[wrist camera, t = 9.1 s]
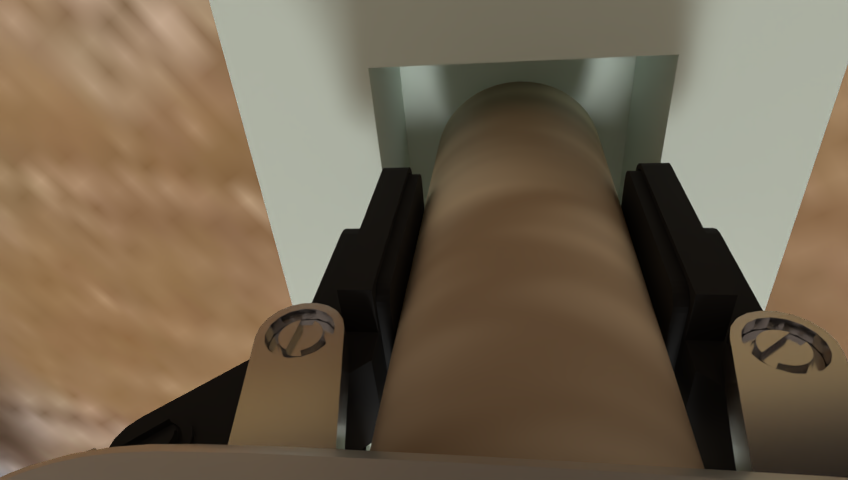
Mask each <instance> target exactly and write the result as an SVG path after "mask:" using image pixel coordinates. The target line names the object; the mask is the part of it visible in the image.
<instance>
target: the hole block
mask: <svg viewBox="0 0 848 480" xmlns="http://www.w3.org/2000/svg"><path fill="white" fill-rule="evenodd" d="M209 2H210V6H211V9H212V13H213V17H214V20H215V24H216V28H217V31H218V35H219V38H220V42H221V46H222V49H223V53H224V57H225V60H226V64H227V68H228V71H229V75H230V79H231V82H232V86H233V90H234V93H235V97H236V101H237V104H238V108H239V111H240V115H241V119H242V122H243V126H244V130H245V133H246V137H247V141H248V144H249V148H250V152H251V155H252V159H253V163H254V166H255V170H256V173H257V177H258V181H259V184H260V188H261V192H262V195H263V199H264V203H265V206H266V210H267V214H268V217H269V221H270V225H271V228H272V232H273V236H274V239H275V243H276V246H277V250H278V254H279V257H280V261H281V265H282V268H283V272H284V276H285V279H286V283H287V287H288V290H289V294H290V298H291V301H292V305H298V304H303V303H312V301H313V299H314V296H315V294H316V292H317V289H318V287H319V285H320V282H321V280H322V277H323V275H324V273H325V270H326V268H327V266H328V263H329V261H330V259H331V256H332V254H333V252H334V249H335V247H336V245H337V242H338V240H339V238H340V235H341V233H342V232H343V230H344V229H355V228H360V227H361V224H362V221H363V219H364V216H365V214H366V211H367V208H368V206H369V203H370V201H371V198H372V195H373V193H374V190H375V187H376V185H377V182H378V180H379V177H380V174H381V172H382V169H383V168H400V167H410V168H411V171H412V174H420V175H421V178H422V187H423V198H424V208H425V204H426V199H427V195H428V191H429V186H430V182H431V177H432V173H433V169H434V164H435V160H436V155H437V151H438V146H439V142H440V139H441V135H442V132H443V130H444V128H445V126H446V124H447V122H448V121H449V119H450V118H451V116H452V115H453V114H454V112H455V111H456V110H457V109H458V108H459V107H460V106H461V105H462V104H463V103H464V102H465V101H466V100H468V99H469V98H471V97H472V96H474V95H475V94H477V93H479V92H481V91H483V90H485V89H487V88H490V87H492V86H495V85H499V84H503V83H509V82H534V83H541V84H544V85H548V86H551V87H554V88H556V89H558V90H561V91H563V92H564V93H566V94H567V95H569V96H571V97H572V98H573V99H574V100H576V101H577V102H578V103H579V104H580V105H581V106H582V107H583V108H584V109H585V110H586V112H587V113H588V115H589V116H590V118H591V119H592V121H593V123H594V125H595V127H596V130H597V133H598V136H599V139H600V142H601V146H602V149H603V152H604V155H605V158H606V161H607V164H608V167H609V171H610V174H611V177H612V180H613V183H614V186H615V189H616V193H617V196H618V199H619V202H620V205H621V203H622V196H623V188H624V181H625V175H626V172H627V171H636V167H637V165H638V163H670V164H671V166H672V168H673V170H674V172H675V174H676V176H677V178H678V180H679V181H680V183H681V185H682V187H683V189H684V191H685V193H686V195H687V197H688V199H689V201H690V203H691V205H692V207H693V209H694V211H695V213H696V215H697V216H698V218H699V220H700V222H701V224H702V226H703V228H715V229H717V230H718V231H719V232H720V233H721V235H722V237H723V239H724V241H725V243H726V244H727V246H728V248H729V250H730V252H731V253H732V255H733V257H734V259H735V261H736V262H737V264H738V266H739V268H740V270H741V272H742V273H743V275H744V277H745V279H746V281H747V282H748V284H749V286H750V288H751V290H752V291H753V293H754V295H755V297H756V299H757V301H758V302H759V304H760V306H761V308H762V310H763V311H765V308H766V305H767V302H768V299H769V296H770V293H771V290H772V287H773V284H774V281H775V278H776V275H777V272H778V269H779V266H780V263H781V261H782V258H783V255H784V252H785V249H786V246H787V243H788V240H789V237H790V234H791V231H792V228H793V225H794V222H795V219H796V216H797V213H798V210H799V207H800V204H801V201H802V198H803V195H804V192H805V189H806V186H807V183H808V180H809V177H810V174H811V171H812V168H813V166H814V163H815V160H816V157H817V154H818V151H819V148H820V145H821V142H822V139H823V136H824V133H825V130H826V127H827V124H828V121H829V118H830V115H831V112H832V109H833V106H834V103H835V100H836V97H837V94H838V91H839V88H840V85H841V82H842V79H843V76H844V73H845V70H846V68H847V65H848V0H209ZM370 447H371V444H370Z"/></svg>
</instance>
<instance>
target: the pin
mask: <svg viewBox="0 0 848 480" xmlns="http://www.w3.org/2000/svg"><path fill="white" fill-rule="evenodd" d="M370 451H385V452H405V453H425V454H445V455H464V456H483V457H501V458H520V459H538V460H556V461H574V462H592V463H610V464H628V465H646V466H663V467H680V468H696V469H705V468H704V465H703V462H702V459H701V456H700V453H699V450H698V446H697V443H696V440H695V437H694V434H693V431H692V428H691V425H690V421H689V418H688V415H687V412H686V409H685V406H684V403H683V399H682V396H681V393H680V390H679V387H678V384H677V381H676V378H675V374H674V371H673V368H672V365H671V362H670V359H669V356H668V352H667V349H666V346H665V343H664V340H663V337H662V334H661V330H660V327H659V324H658V321H657V318H656V315H655V312H654V309H653V305H652V302H651V299H650V296H649V293H648V290H647V287H646V283H645V280H644V277H643V274H642V271H641V268H640V265H639V262H638V258H637V255H636V252H635V249H634V246H633V243H632V240H631V236H630V233H629V230H628V227H627V224H626V221H625V218H624V214H623V211H622V208H621V205H620V202H619V199H618V196H617V193H616V189H615V186H614V183H613V180H612V177H611V174H610V171H609V167H608V164H607V161H606V158H605V155H604V152H603V149H602V146H601V142H600V139H599V136H598V133H597V130H596V127H595V125H594V123H593V121H592V119H591V118H590V116H589V115H588V113H587V112H586V110H585V109H584V108H583V107H582V106H581V105H580V104H579V103H578V102H577V101H576V100H574V99H573V98H572V97H571V96H569V95H567V94H566V93H564V92H563V91H561V90H558V89H556V88H554V87H551V86H548V85H544V84H541V83H534V82H509V83H503V84H499V85H495V86H492V87H490V88H487V89H485V90H483V91H481V92H479V93H477V94H475V95H474V96H472V97H471V98H469V99H468V100H466V101H465V102H464V103H463V104H462V105H461V106H460V107H459V108H458V109H457V110H456V111H455V112H454V114H453V115H452V116H451V118H450V119H449V121H448V122H447V124H446V126H445V128H444V130H443V132H442V135H441V139H440V142H439V146H438V151H437V155H436V160H435V164H434V169H433V173H432V177H431V182H430V186H429V191H428V195H427V199H426V204H425V208H424V213H423V218H422V222H421V226H420V231H419V235H418V240H417V244H416V249H415V253H414V257H413V262H412V266H411V271H410V275H409V280H408V284H407V288H406V293H405V297H404V302H403V306H402V311H401V315H400V319H399V324H398V328H397V333H396V337H395V341H394V345H393V350H392V354H391V359H390V363H389V368H388V372H387V376H386V381H385V385H384V390H383V394H382V399H381V403H380V407H379V412H378V416H377V421H376V425H375V429H374V434H373V438H372V443H371V447H370Z"/></svg>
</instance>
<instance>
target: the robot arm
mask: <svg viewBox="0 0 848 480" xmlns="http://www.w3.org/2000/svg"><path fill="white" fill-rule="evenodd" d="M621 208H622V211H623V214H624V218H625V221H626V224H627V227H628V230H629V233H630V236H631V240H632V243H633V246H634V249H635V252H636V255H637V258H638V262H639V265H640V268H641V271H642V274H643V277H644V280H645V283H646V287H647V290H648V293H649V296H650V299H651V302H652V305H653V309H654V312H655V315H656V318H657V321H658V324H659V327H660V330H661V334H662V337H663V340H664V343H665V346H666V349H667V352H668V356H669V359H670V362H671V365H672V368H673V371H674V374H675V378H676V381H677V384H678V387H679V390H680V393H681V396H682V399H683V403H684V406H685V409H686V412H687V415H688V418H689V421H690V425H691V428H692V431H693V434H694V437H695V440H696V443H697V446H698V450H699V453H700V456H701V459H702V462H703V465H704V468H705V469H696V468H680V467H663V466H646V465H628V464H610V463H592V462H574V461H556V460H538V459H520V458H501V457H483V456H464V455H445V454H425V453H405V452H385V451H370V444H371V443H372V438H373V434H374V429H375V425H376V421H377V416H378V412H379V407H380V403H381V399H382V394H383V390H384V385H385V381H386V376H387V372H388V368H389V363H390V359H391V354H392V350H393V345H394V341H395V337H396V333H397V328H398V324H399V319H400V315H401V311H402V306H403V302H404V297H405V293H406V288H407V284H408V280H409V275H410V271H411V266H412V262H413V257H414V253H415V249H416V244H417V240H418V235H419V231H420V226H421V222H422V218H423V213H424V198H423V187H422V178H421V175H420V174H412V171H411V168H410V167H400V168H383V169H382V172H381V174H380V177H379V180H378V182H377V185H376V187H375V190H374V193H373V195H372V198H371V201H370V203H369V206H368V208H367V211H366V214H365V216H364V219H363V221H362V224H361V227H360V228H355V229H344V230H343V232H342V233H341V235H340V238H339V240H338V242H337V245H336V247H335V249H334V252H333V254H332V256H331V259H330V261H329V263H328V266H327V268H326V270H325V273H324V275H323V277H322V280H321V282H320V285H319V287H318V289H317V292H316V294H315V296H314V299H313V301H312V303H303V304H298V305H293V306H290V307H287V308H285V309H282V310H280V311H278V312H277V313H275V314H274V315H272V316H271V317H269V318H268V319H267V320H266V321H265V322H264V323H263V324H262V325H261V326H260V328H259V330H258V332H257V334H256V336H255V340H254V344H253V348H252V352H251V356H250V359H249V360H248V361H246V362H244V363H242V364H240V365H238V366H236V367H235V368H233V369H231V370H229V371H227V372H225V373H223V374H222V375H220V376H218V377H216V378H214V379H212V380H210V381H208V382H207V383H205V384H203V385H201V386H199V387H197V388H195V389H194V390H192V391H190V392H188V393H186V394H184V395H182V396H181V397H179V398H177V399H175V400H173V401H171V402H169V403H167V404H166V405H164V406H162V407H160V408H158V409H156V410H154V411H153V412H151V413H149V414H147V415H145V416H143V417H141V418H140V419H138V420H137V421H135V422H134V423H132V424H131V425H129V426H128V427H126V428H125V429H124V430H123V431H122V432H121V433H120V434H119V435H118V436H117V437H116V438H115V439H114V441H113V442H112V444H111V445H110V447H109V448H104V449H98V450H96V449H95V448H93V449H91V450H88V451H86V452H80V453H74V454H70V455H66V456H62V457H59V458H55V459H52V460H48V461H44V462H41V463H37V464H34V465H30V466H28V467H25V468H22V469H20V470H17V471H14V472H12V473H9V474H7V475H5V476H2V477H0V480H848V362H847V359H846V356H845V354H844V352H843V350H842V348H841V347H840V345H839V344H838V342H837V341H836V340H835V339H834V338H833V337H832V336H831V335H830V334H829V333H828V332H826V331H825V330H824V329H822V328H820V327H819V326H817V325H815V324H814V323H812V322H810V321H808V320H805V319H803V318H800V317H797V316H795V315H791V314H787V313H782V312H777V311H763V310H762V308H761V306H760V304H759V302H758V301H757V299H756V297H755V295H754V293H753V291H752V290H751V288H750V286H749V284H748V282H747V281H746V279H745V277H744V275H743V273H742V272H741V270H740V268H739V266H738V264H737V262H736V261H735V259H734V257H733V255H732V253H731V252H730V250H729V248H728V246H727V244H726V243H725V241H724V239H723V237H722V235H721V233H720V232H719V231H718V230H717V229H715V228H703V226H702V224H701V222H700V220H699V218H698V216H697V215H696V213H695V211H694V209H693V207H692V205H691V203H690V201H689V199H688V197H687V195H686V193H685V191H684V189H683V187H682V185H681V183H680V181H679V180H678V178H677V176H676V174H675V172H674V170H673V168H672V166H671V164H670V163H638V165H637V167H636V171H627V172H626V175H625V181H624V188H623V196H622V203H621Z"/></svg>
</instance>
